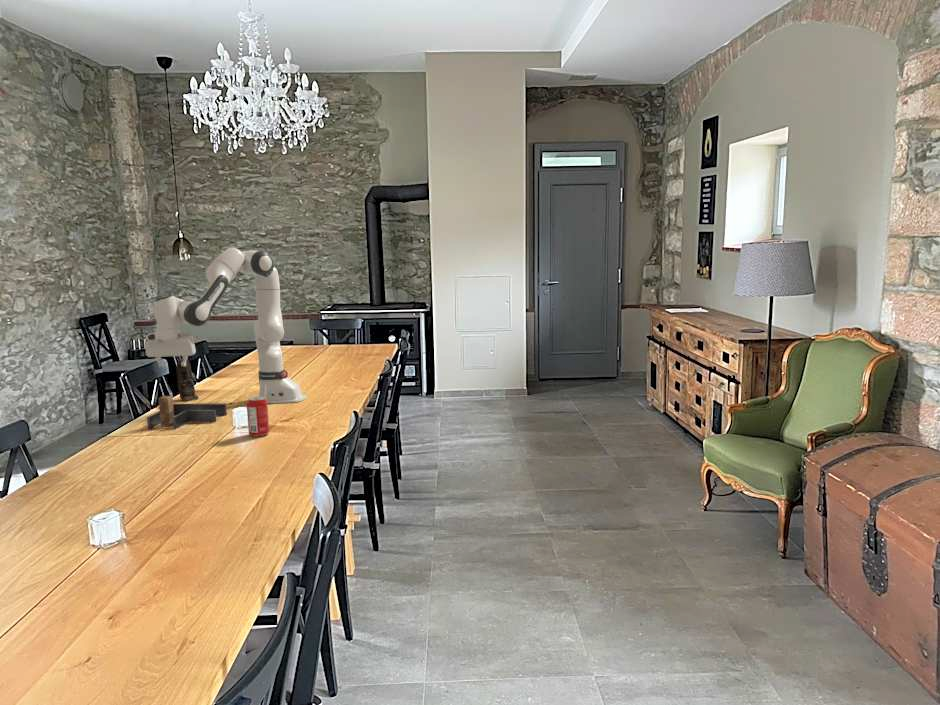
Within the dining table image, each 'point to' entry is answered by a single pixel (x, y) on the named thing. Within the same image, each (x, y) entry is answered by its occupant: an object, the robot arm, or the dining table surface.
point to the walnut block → (166, 410)
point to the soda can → (257, 416)
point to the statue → (185, 381)
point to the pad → (163, 426)
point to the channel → (190, 414)
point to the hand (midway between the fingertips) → (172, 366)
